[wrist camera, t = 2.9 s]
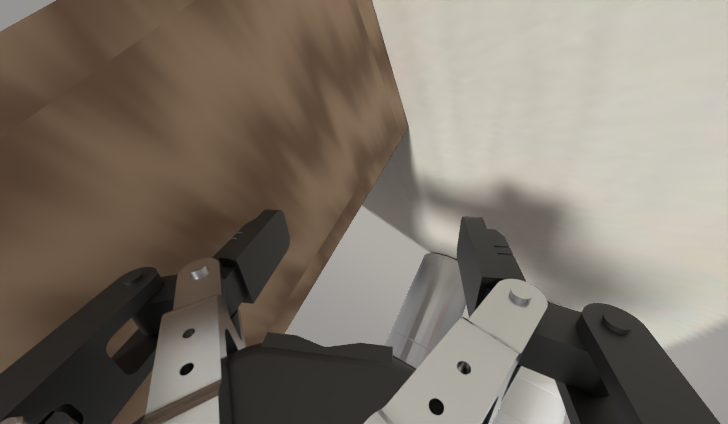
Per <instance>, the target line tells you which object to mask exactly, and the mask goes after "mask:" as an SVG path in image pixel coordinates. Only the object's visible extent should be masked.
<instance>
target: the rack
mask: <svg viewBox="0 0 728 424" xmlns="http://www.w3.org/2000/svg"><path fill="white" fill-rule="evenodd" d="M407 129H408V123H407V120H406V117H405V113H404V110H403V106H402V103H401V100H400V96H399V93H398V89H397V86H396V82H395V79H394V76H393V72H392V69H391V65H390V62H389V58H388V55H387V52H386V48H385V45H384V41H383V38H382V35H381V31H380V28H379V24H378V21H377V17H376V14H375V11H374V7H373V4H372V0H56V1H54V2H53V3H51V4H49V5H47V6H46V7H44V8H42V9H40V10H38V11H37V12H35V13H33V14H31V15H29V16H28V17H26V18H24V19H22V20H20V21H19V22H17V23H15V24H13V25H11V26H10V27H8V28H6V29H4V30H2V31H1V32H0V374H1V373H2V372H3V371H4V370H6V369H7V368H8V367H9V366H10V365H12V364H13V363H14V362H15V361H17V360H18V359H19V358H20V357H22V356H23V355H24V354H25V353H27V352H28V351H29V350H30V349H31V348H33V347H34V346H35V345H36V344H38V343H39V342H40V341H41V340H43V339H44V338H45V337H46V336H48V335H49V334H50V333H51V332H52V331H54V330H55V329H56V328H57V327H59V326H60V325H61V324H62V323H64V322H65V321H66V320H67V319H69V318H70V317H71V316H72V315H73V314H75V313H76V312H77V311H78V310H80V309H81V308H82V307H83V306H85V305H86V304H87V303H88V302H90V301H91V300H92V299H93V298H94V297H96V296H97V295H98V294H99V293H101V292H102V291H103V290H104V289H106V288H107V287H108V286H109V285H111V284H112V283H113V282H114V281H115V280H117V279H118V278H119V277H121V276H122V275H124V274H126V273H128V272H130V271H132V270H135V269H138V268H142V267H154V268H156V270H157V271H158V273H159V275H160V276H161V277H164V276H170V275H176V274H178V273H179V272H180V271H181V270H182V269H183V268H184V267H185V266H187V265H188V264H190V263H192V262H194V261H196V260H199V259H203V258H212V257H213V256H214V255H215V254H216V253H217V252H218V251H219V250H220V249H221V248H222V247H223V246H224V245H225V244H226V243H227V242H228V241H229V240H230V239H232V237H233V236H234V235H235V234H236V233H237V232H238V231H239V230H240V229H241V228H242V227H243V226H244V225H245V224H247V223H249V222H250V221H252V220H254V219H256V218H257V217H258V216H259V215H260V214H261V213H262V212H263V211H264V210H265V209H270V210H282V211H283V212H284V215H285V219H286V224H287V228H288V232H289V236H290V246H289V249H288V251H287V252H286V254H285V255H284V257H283V259H282V260H281V262H280V263H279V265H278V266H277V268H276V269H275V271H274V273H273V274H272V276H271V277H270V279H269V280H268V282H267V284H266V285H265V287H264V288H263V290H262V291H261V293H260V294H259V296H258V298H257V299H256V301H255V302H254V304H251V303H241V304H240V306H239V307H238V308H239V310H240V313H241V319H242V326H243V333H244V339H245V346H246V347H248V346H250V345H254V344H258V343H262V342H263V340H264V338H265V336H266V334H267V332H271V333H280V334H285V332H286V330H287V329H288V327H289V325H290V324H291V322H292V320H293V319H294V317H295V315H296V313H297V312H298V310H299V309H300V307H301V305H302V303H303V302H304V300H305V299H306V297H307V295H308V294H309V292H310V290H311V288H312V287H313V285H314V284H315V282H316V280H317V278H318V277H319V275H320V274H321V272H322V270H323V269H324V267H325V265H326V264H327V262H328V260H329V259H330V257H331V255H332V253H333V252H334V250H335V248H336V247H337V245H338V243H339V242H340V240H341V239H342V237H343V235H344V233H345V232H346V230H347V228H348V227H349V225H350V224H351V221H352V220H353V219H354V217H355V215H356V213H357V212H358V210H359V208H360V207H361V205H362V204H363V202H364V200H365V199H366V197H367V195H368V194H369V192H370V190H371V189H372V187H373V185H374V184H375V182H376V180H377V179H378V177H379V175H380V174H381V172H382V170H383V169H384V167H385V165H386V164H387V162H388V160H389V159H390V157H391V155H392V154H393V152H394V150H395V149H396V147H397V145H398V144H399V142H400V140H401V139H402V137H403V135H404V134H405V132H406V130H407ZM137 330H138V327H137V325H136V324H135V323H134V321H133V320H132V319H131V318H130V319H129V320H128V321H127V322H126V323H125V324H124V325H123V326H122V327H121V328H120V329H119V330H118V331H117V332H116V333H115V334H114V335H113V336H112V338H111V339H110V340H109V342H108V344H107V347H106V352H107V354H108V355H109V357H110V358H111V357H112V356H113V355H114V354H115V353H116V352H117V351H118V350H119V349H120V348H121V347H122V346H123V344H124V343H125V342H126V341H127V340H128V339H129V338H130V337H131V336H132V335H133V334H134V333H135V332H136V331H137ZM152 372H153V370H152V371H151V372H150V373H149V375H148V376H147V377H146V379H145V380H144V381H143V383H142V384H141V385H140V386H139V388H138V389H137V390H136V392H135V393H134V394H133V396H132V397H131V398H130V399H129V401H128V402H127V403H126V405H125V406H124V407H123V409H122V410H121V411H120V412H119V414H118V415H117V416H116V418H115V419H114V420H113V422H112V423H111V424H132V423H133V422H135V421H136V420H138V419H139V418H141V417H142V416H143V415H145V414H146V408H147V402H148V396H149V390H150V384H151V378H152Z"/></svg>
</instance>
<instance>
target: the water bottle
mask: <svg viewBox="0 0 728 424" xmlns="http://www.w3.org/2000/svg"><path fill="white" fill-rule="evenodd" d="M565 411H566V409H565V407H564V404H563V401H562V399H561V396H560V393H559V390H558V388H557V385H556V382H555V380H554V379H552V378H549V377H547V376H545V375H542V374H540V373H537V372H535V371H532V370H530V369H527V368H525V367H521V369H520V371H519V373H518V374H517V376H516V378H515V380H514V382H513V384H512V386H511V387H510V389H509V391H508V393H507V395H506V397H505V399H504V400H503V402H502V404H501V407H500V409H499V410H498V424H563V422H564V417H565Z"/></svg>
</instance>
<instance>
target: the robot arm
mask: <svg viewBox="0 0 728 424" xmlns="http://www.w3.org/2000/svg"><path fill="white" fill-rule="evenodd" d="M289 246H290V236H289V232H288V228H287V224H286V219H285V215H284V212H283V211H282V210H270V209H265V210H264V211H263V212H262V213H261V214H260V215H259V216H258V217H257V218H256V219H254V220H252V221H250V222H249V223H247V224H245V225H244V226H243V227H242V228H241V229H240V230H239V231H238V232H237V233H236V234H235V235H234V236H233V237H232V239H230V240H229V241H228V242H227V243H226V244H225V245H224V246H223V247H222V248H221V249H220V250H219V251H218V252H217V253H216V254H215V255H214V256H213V257H212V258H203V259H199V260H196V261H194V262H192V263H190V264H188V265H187V266H185V267H184V268H183V269H182V270H181V271H180V272H179V273H178V274H176V275H170V276H164V277H161V276H160V275H159V273H158V271H157V270H156V268H154V267H142V268H138V269H135V270H132V271H130V272H128V273H126V274H124V275H122V276H121V277H119V278H118V279H117V280H115V281H114V282H113V283H112V284H111V285H109V286H108V287H107V288H106V289H104V290H103V291H102V292H101V293H99V294H98V295H97V296H96V297H94V298H93V299H92V300H91V301H90V302H88V303H87V304H86V305H85V306H83V307H82V308H81V309H80V310H78V311H77V312H76V313H75V314H73V315H72V316H71V317H70V318H69V319H67V320H66V321H65V322H64V323H62V324H61V325H60V326H59V327H57V328H56V329H55V330H54V331H52V332H51V333H50V334H49V335H48V336H46V337H45V338H44V339H43V340H41V341H40V342H39V343H38V344H36V345H35V346H34V347H33V348H31V349H30V350H29V351H28V352H27V353H25V354H24V355H23V356H22V357H20V358H19V359H18V360H17V361H15V362H14V363H13V364H12V365H10V366H9V367H8V368H7V369H6V370H4V371H3V372H2V373H1V374H0V424H111V423H112V422H113V420H114V419H115V418H116V416H117V415H118V414H119V412H120V411H121V410H122V409H123V407H124V406H125V405H126V403H127V402H128V401H129V399H130V398H131V397H132V396H133V394H134V393H135V392H136V390H137V389H138V388H139V386H140V385H141V384H142V383H143V381H144V380H145V379H146V377H147V376H148V375H149V373H150V372H151V371H152V370H153V372H152V378H151V384H150V390H149V396H148V402H147V408H146V414H145V415H143V416H142V417H141V418H139V419H138V420H136V421H135V422H133V423H132V424H492V422H493V420H494V418H495V416H496V414H497V411H498V410H499V408H500V406H501V404H502V402H503V400H504V399H505V397H506V395H507V393H508V391H509V389H510V387H511V386H512V384H513V382H514V380H515V378H516V376H517V374H518V373H519V371H520V369H521V367H525V368H527V369H530V370H532V371H535V372H537V373H540V374H542V375H545V376H547V377H549V378H552V379H554V380H555V382H556V385H557V388H558V390H559V393H560V396H561V399H562V401H563V404H564V407H565V409H566V412H567V415H568V418H569V420H570V423H571V424H720V423H719V422H718V420H717V419H716V418H715V417H714V415H713V414H712V412H711V411H710V410H709V408H708V407H707V406H706V405H705V403H704V402H703V401H702V399H701V398H700V397H699V395H698V394H697V393H696V392H695V390H694V389H693V388H692V386H691V385H690V384H689V382H688V381H687V380H686V378H685V377H684V376H683V375H682V373H681V372H680V371H679V369H678V368H677V367H676V366H675V364H674V363H673V362H672V360H671V359H670V358H669V356H668V355H667V354H666V352H665V351H664V350H663V348H662V347H661V346H660V345H659V343H658V342H657V341H656V339H655V338H654V337H653V335H652V334H651V333H650V332H649V330H648V329H647V328H646V327H645V325H644V324H643V323H641V322H640V321H639V320H638V319H637V318H635V317H634V316H632V315H631V314H629V313H627V312H626V311H624V310H622V309H619V308H617V307H614V306H611V305H607V304H602V303H593V304H589V305H587V306H585V307H584V309H583V311H582V313H581V312H578V311H575V310H571V309H568V308H565V307H561V306H558V305H555V304H553V303H550V302H548V301H547V299H546V297H545V295H544V294H543V293H542V292H541V291H540V290H539V289H538V288H536V287H535V286H533V285H532V284H530V283H527V282H526V280H525V278H524V276H523V274H522V272H521V270H520V268H519V266H518V264H517V262H516V260H515V258H514V256H513V253H512V251H511V249H510V248H509V245H508V243H507V241H506V239H505V237H504V236H502V235H501V234H500V233H499V232H498V231H496V230H491V229H487V228H486V225H485V223H484V220H483V218H482V217H462V220H461V225H460V232H459V239H458V245H457V260H455V259H452V258H450V257H447V256H444V255H440V254H434V253H429V254H426V255H425V256H424V258H423V260H422V263H421V265H420V267H419V269H418V272H417V274H416V276H415V278H414V280H413V282H412V285H411V287H410V289H409V291H408V294H407V296H406V298H405V300H404V303H403V305H402V307H401V309H400V312H399V314H398V316H397V318H396V321H395V323H394V325H393V327H392V330H391V332H390V334H389V336H388V339H387V341H386V343H385V345H384V346H382V345H373V344H365V343H356V344H348V345H341V346H332V347H323V346H320V345H318V344H316V343H313V342H311V341H308V340H306V339H304V338H301V337H298V336H296V335H288V334H280V333H271V332H267V334H266V336H265V338H264V340H263V342H262V343H258V344H254V345H250V346H248V347H246V346H245V339H244V333H243V326H242V319H241V313H240V310H239V308H238V307H239V306H240V304H241V303H251V304H254V302H255V301H256V299H257V298H258V296H259V294H260V293H261V291H262V290H263V288H264V287H265V285H266V284H267V282H268V280H269V279H270V277H271V276H272V274H273V273H274V271H275V269H276V268H277V266H278V265H279V263H280V262H281V260H282V259H283V257H284V255H285V254H286V252H287V251H288V249H289ZM466 305H467V309H468V314H469V319H466V318H464V317H462V315H463V312H464V309H465V306H466ZM461 317H462V318H461ZM130 318H131V319H132V320H133V321H134V323H135V324H136V325H137V327H138V330H137V331H136V332H135V333H134V334H133V335H132V336H131V337H130V338H129V339H128V340H127V341H126V342H125V343H124V344H123V346H122V347H121V348H120V349H119V350H118V351H117V352H116V353H115V354H114V355H113V356H112V357H111V358H110V357H109V355H108V354H107V352H106V347H107V344H108V342H109V340H110V339H111V338H112V336H113V335H114V334H115V333H116V332H117V331H118V330H119V329H120V328H121V327H122V326H123V325H124V324H125V323H126V322H127V321H128V320H129V319H130Z"/></svg>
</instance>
